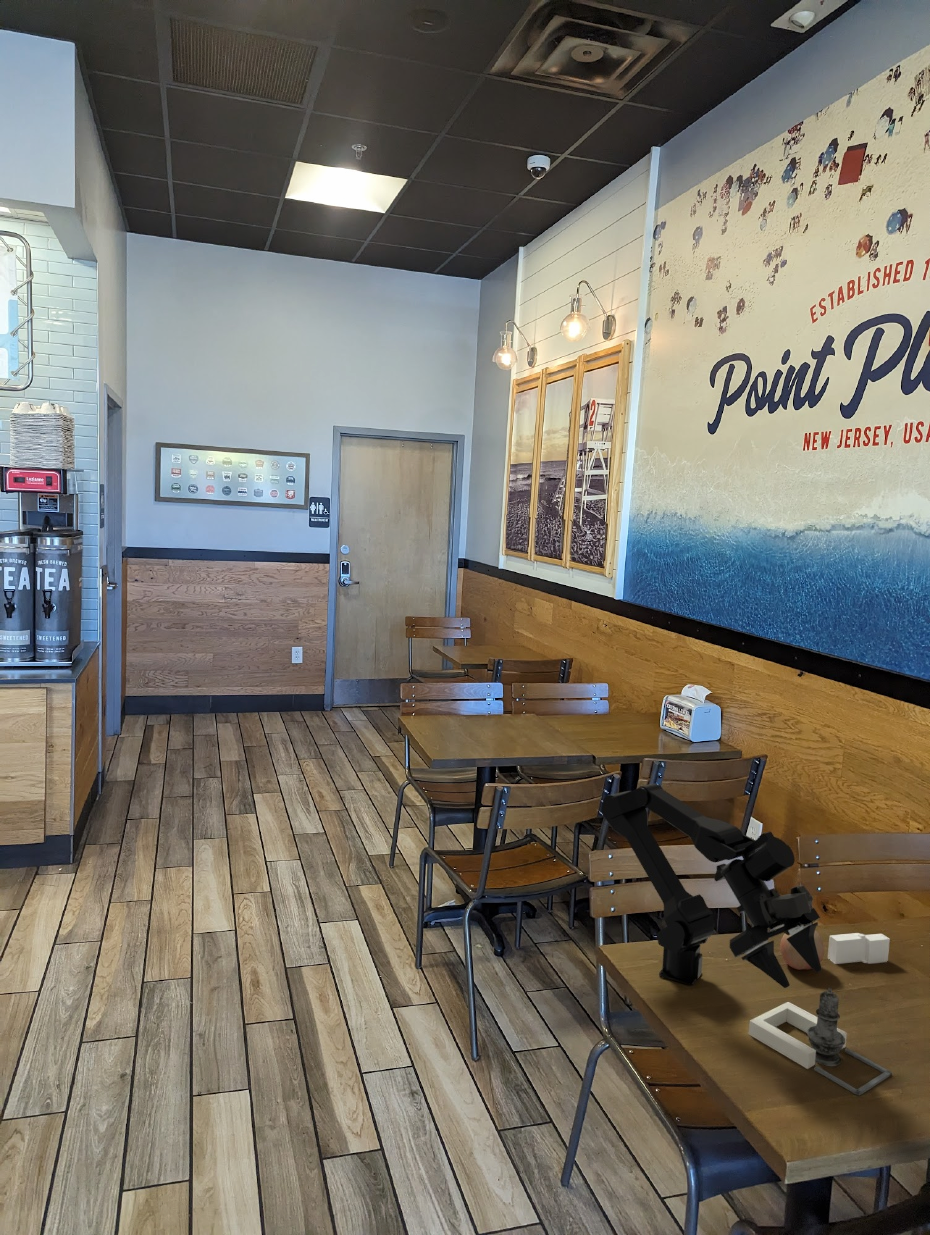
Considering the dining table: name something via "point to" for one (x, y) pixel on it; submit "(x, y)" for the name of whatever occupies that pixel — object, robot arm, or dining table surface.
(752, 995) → the dining table surface
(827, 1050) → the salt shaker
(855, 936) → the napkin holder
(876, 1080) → the frame
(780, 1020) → the u-shaped bracket
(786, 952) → the fruit
